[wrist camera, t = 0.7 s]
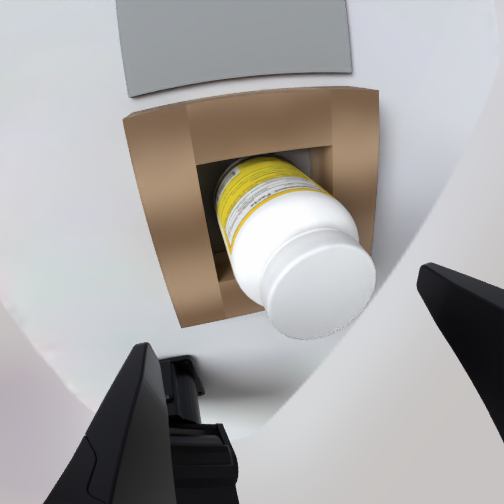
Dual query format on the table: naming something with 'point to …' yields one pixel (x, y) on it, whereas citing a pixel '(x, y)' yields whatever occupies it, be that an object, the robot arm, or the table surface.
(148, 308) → the table surface
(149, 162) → the holder block
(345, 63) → the slate mat
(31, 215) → the table surface
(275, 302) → the pill bottle
